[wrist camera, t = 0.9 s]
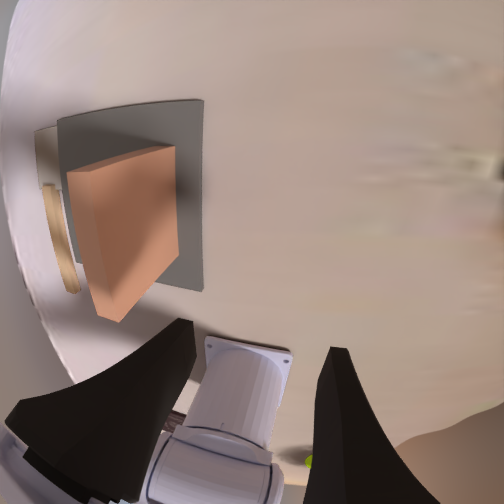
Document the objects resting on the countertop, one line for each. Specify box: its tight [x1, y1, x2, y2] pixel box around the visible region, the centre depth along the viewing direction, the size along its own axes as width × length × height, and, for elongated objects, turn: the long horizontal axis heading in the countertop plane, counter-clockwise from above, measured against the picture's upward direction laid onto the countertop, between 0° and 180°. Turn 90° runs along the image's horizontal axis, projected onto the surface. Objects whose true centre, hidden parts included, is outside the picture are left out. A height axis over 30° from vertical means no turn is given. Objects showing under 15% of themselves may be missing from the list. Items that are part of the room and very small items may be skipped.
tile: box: [67, 146, 179, 322], centre depth 15 cm, size 8×2×8 cm, turn 177°
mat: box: [57, 100, 204, 292], centre depth 19 cm, size 14×14×1 cm
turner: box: [35, 126, 81, 294], centre depth 22 cm, size 18×4×1 cm, turn 177°
